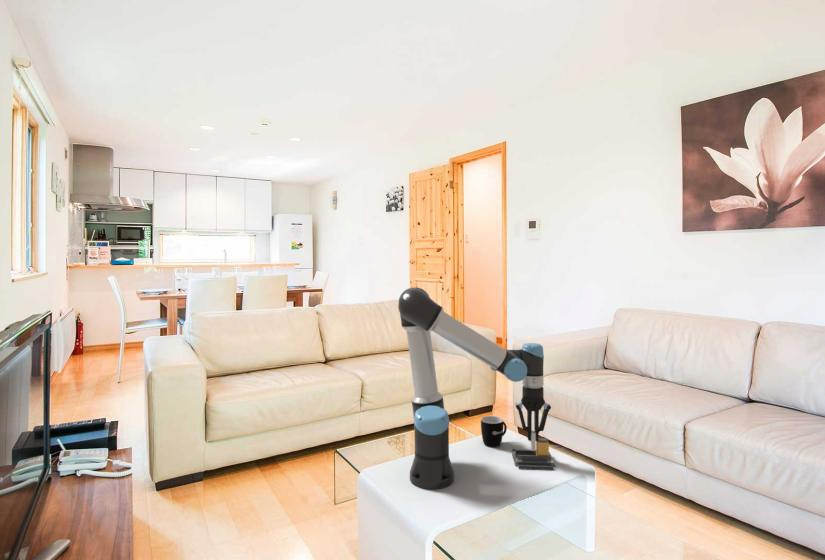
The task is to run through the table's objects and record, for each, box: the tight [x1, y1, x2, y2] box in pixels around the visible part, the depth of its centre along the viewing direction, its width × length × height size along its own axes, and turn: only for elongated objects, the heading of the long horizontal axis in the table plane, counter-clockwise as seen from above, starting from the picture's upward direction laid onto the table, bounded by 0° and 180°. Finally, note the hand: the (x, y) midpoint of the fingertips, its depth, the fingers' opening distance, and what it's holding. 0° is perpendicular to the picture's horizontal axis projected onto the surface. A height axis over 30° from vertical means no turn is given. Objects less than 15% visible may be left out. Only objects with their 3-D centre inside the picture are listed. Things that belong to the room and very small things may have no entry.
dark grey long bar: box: [518, 465, 555, 471], centre depth 168 cm, size 12×1×1 cm, turn 85°
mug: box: [480, 415, 507, 448], centre depth 191 cm, size 12×9×10 cm
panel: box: [511, 448, 556, 468], centre depth 174 cm, size 14×10×3 cm
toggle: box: [536, 437, 550, 456], centre depth 174 cm, size 4×3×7 cm
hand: (532, 449), depth 174 cm, fingers closed
